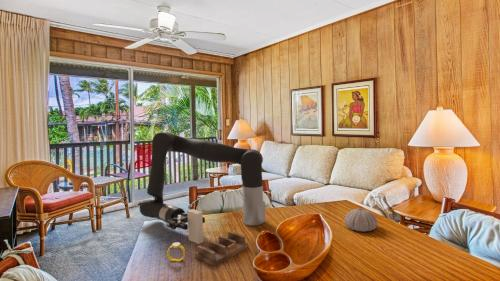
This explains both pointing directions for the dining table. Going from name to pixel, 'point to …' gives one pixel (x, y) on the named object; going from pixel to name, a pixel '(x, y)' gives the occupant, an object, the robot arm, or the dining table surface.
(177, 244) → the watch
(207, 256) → the rack
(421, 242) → the dining table surface
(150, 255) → the dining table surface
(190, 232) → the panel
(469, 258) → the dining table surface
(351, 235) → the dining table surface
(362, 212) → the sea urchin shell
